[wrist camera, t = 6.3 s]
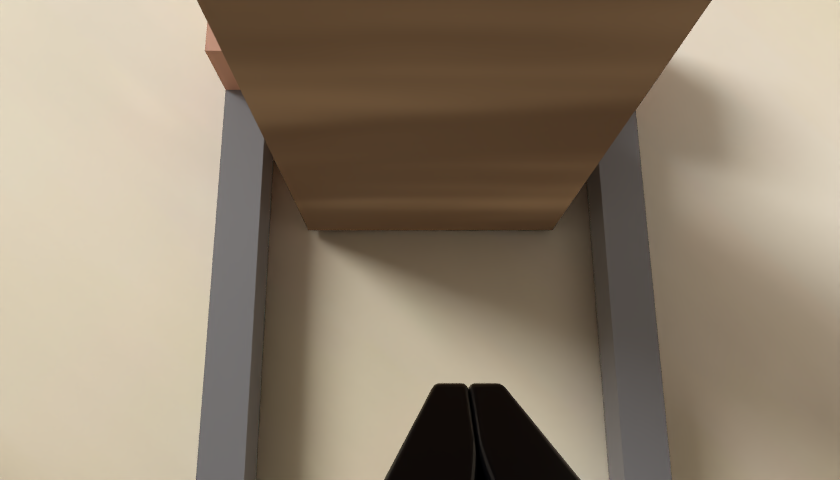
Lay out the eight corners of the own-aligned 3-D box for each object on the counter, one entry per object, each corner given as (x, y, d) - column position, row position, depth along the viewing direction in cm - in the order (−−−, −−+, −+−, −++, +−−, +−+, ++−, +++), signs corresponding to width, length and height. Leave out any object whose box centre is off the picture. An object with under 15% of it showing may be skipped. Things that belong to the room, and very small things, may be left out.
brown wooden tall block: (552, 230, 17) (930, -316, 5) (308, 230, 17) (39, -326, 5) (545, 118, 18) (853, -598, 6) (312, 118, 18) (93, -612, 5)
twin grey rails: (684, 828, 14) (756, 928, 11) (186, 835, 14) (128, 940, 11) (612, 31, 19) (648, -41, 16) (243, 30, 19) (213, -43, 16)
